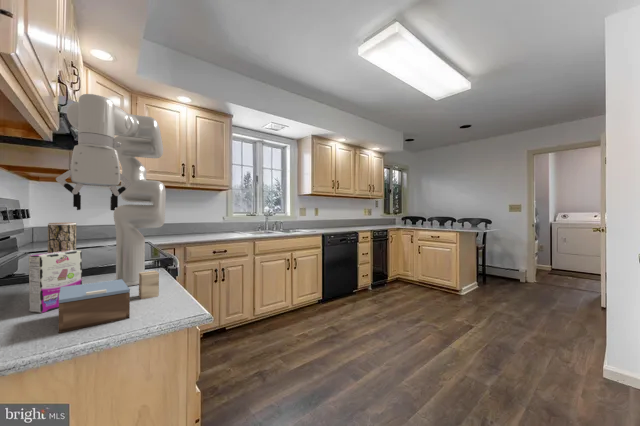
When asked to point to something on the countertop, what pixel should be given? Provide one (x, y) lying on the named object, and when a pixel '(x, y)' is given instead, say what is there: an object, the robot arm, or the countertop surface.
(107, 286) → the box lid
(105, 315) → the walnut box
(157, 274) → the birch block
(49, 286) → the candy bar box
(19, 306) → the countertop surface
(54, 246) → the bark log
